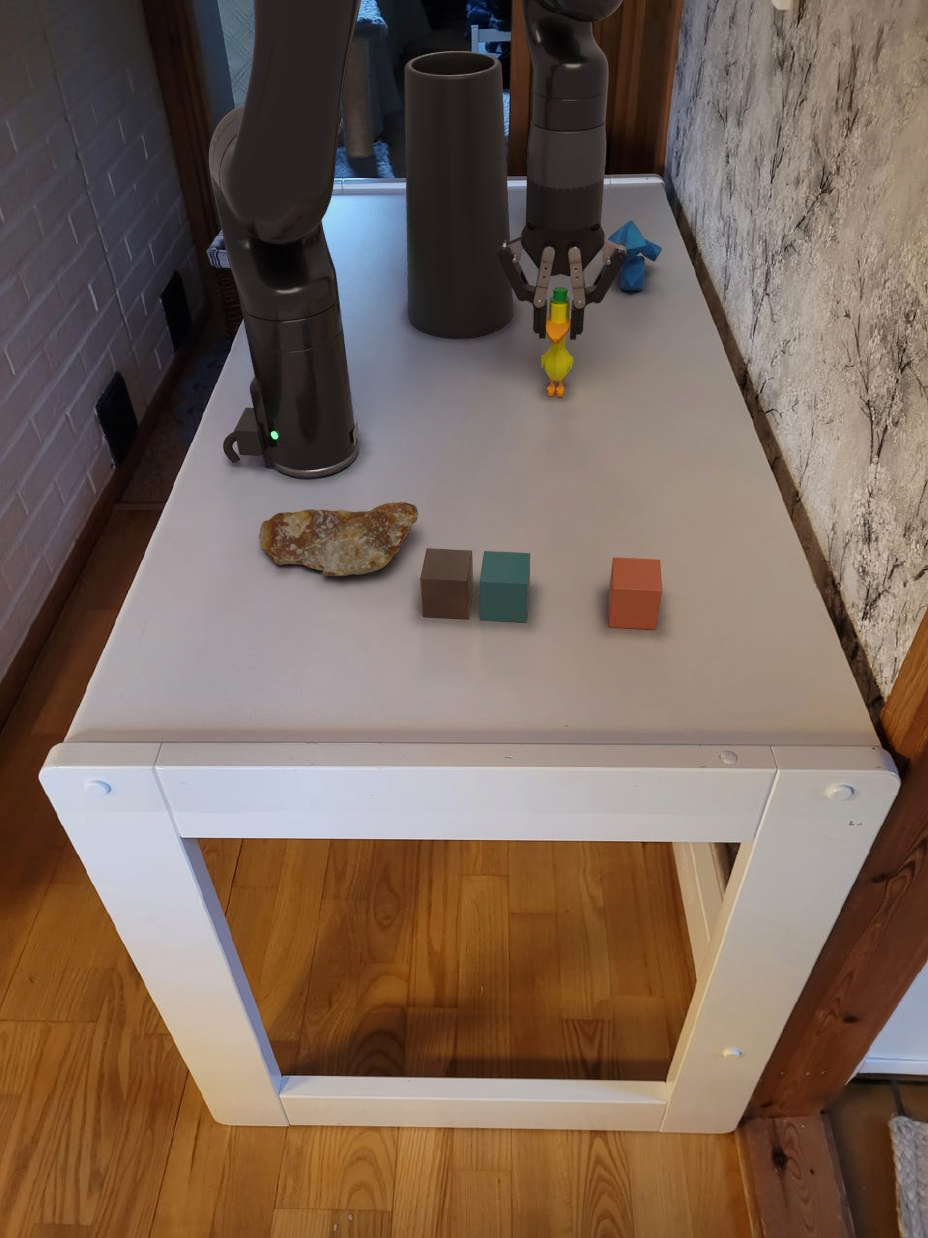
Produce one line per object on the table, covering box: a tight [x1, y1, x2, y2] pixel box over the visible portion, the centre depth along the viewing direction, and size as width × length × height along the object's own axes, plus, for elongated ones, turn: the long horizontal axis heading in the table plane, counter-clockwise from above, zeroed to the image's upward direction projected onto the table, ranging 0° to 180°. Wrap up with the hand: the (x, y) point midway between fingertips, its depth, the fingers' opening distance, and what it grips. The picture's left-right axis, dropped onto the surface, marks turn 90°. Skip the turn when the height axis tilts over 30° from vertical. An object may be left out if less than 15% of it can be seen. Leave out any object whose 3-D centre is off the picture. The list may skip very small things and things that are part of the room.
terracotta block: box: [608, 557, 663, 631], centre depth 81 cm, size 4×4×4 cm
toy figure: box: [540, 286, 574, 398], centre depth 105 cm, size 7×4×12 cm, turn 170°
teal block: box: [479, 550, 531, 623], centre depth 82 cm, size 4×4×4 cm
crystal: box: [607, 220, 663, 292], centre depth 126 cm, size 7×9×12 cm
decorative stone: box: [258, 501, 419, 577], centre depth 88 cm, size 10×4×15 cm
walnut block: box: [419, 547, 474, 620], centre depth 82 cm, size 4×4×4 cm
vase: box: [404, 50, 514, 339], centre depth 114 cm, size 14×14×29 cm
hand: (558, 335), depth 104 cm, fingers closed on toy figure, 2 cm apart
